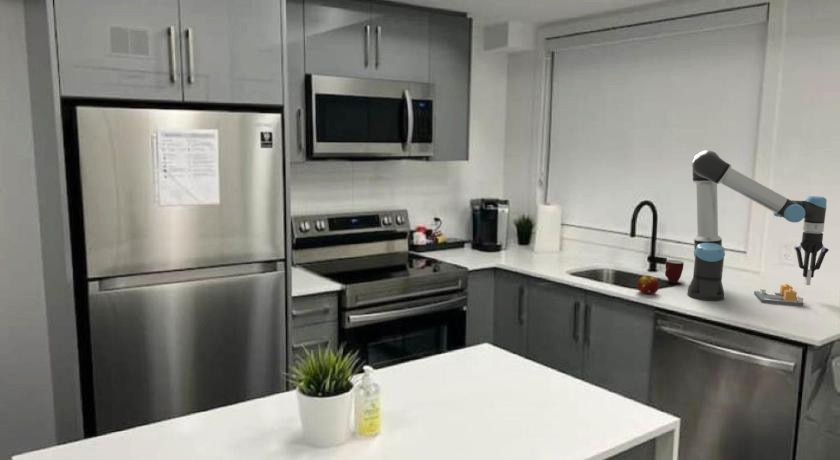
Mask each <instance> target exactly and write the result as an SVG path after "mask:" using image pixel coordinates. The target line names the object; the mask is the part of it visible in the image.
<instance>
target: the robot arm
mask: <svg viewBox="0 0 840 460" xmlns="http://www.w3.org/2000/svg"><path fill="white" fill-rule="evenodd" d="M691 167H692V182H693V183H694V184H695V185H696V215H697V216H696V217H697V218H696V223H697V225H696V226H697V228H696V229H697V236H695V237H694V241H693V244H694V245H693V248H694V250H693V255H694V264H693V265H694V266H693V277H692V279H691V281H690V284H689V285H688V288H687V293H686V294H687V295H688V296H689V297H691V298H694V299H696V300H697V299H698V300H703V301H715V302H716V301H723V300H724V299H725V295H726V294H725V291H724V290H725V289H724V286H723V282H722V280H723V270H724V261H725V255H726V252H725V247H724V246H723V239H722V237H721V236H720V235H719V222H718V221H719V219H718V218H719V215H718V206H719V205H718V184H719V185H720V184H722V185H723V186H725V187H727V188H729V189H730V190H733V191H735V192H737V193H738V194H740V195H741V196H743V197H746V198H747V199H749V200H751V201H752V202H754V203H756V204H759V205H760V206H761V207H764V208H765V209H767V210H769V211H771V212H773V216H775V217H778V218H783V219H785V220H786V221H788V222H790V223H799V222H801V221H803V227H802V228H803V229H802V231H803V232H802V236H801V242H800V244H799V245H796V246H795V245H794V247H793V249H794V251H795V253H796V257H797V264H798V268H800V269H802V277H803V278H804V283H803V284H804V285H806V286H811V280H812V278H814V275H815V271H817V270H820V268H821V267H822V264H823V262H824V259H825V256H826V254H827V253H828V252H829V251H830V250H829V248H827V247H825V246H824V244H823V239H824V237H823V236H824V233H823V232H825V231H824V230H825V220H826V213H827V202H828V201H827V198H826V197H824V196H817V195H816V196H814V195H813V196H812V195H811V196H810V195H809V196H807V197H806V199H805V200H792V199H789V198H787V197H786V196H783V194H780V193H778V192H776V191H775V190H773V189H771V188H769V187H767V186H766V185H763V184H761V183H759V182H758V181H756V180H755V179H752V178H751V177H749V176H747V175H744V174H743V173H741V172H739V171H737V170H736V169H734V168H732V164H730V163H728V162H727V161H724V159H722V158H721V157H720V156H719V155H718V154H717V153H716V152H715V151H712V150H707V149H706V150H702V151H699V152H698V153H696V154H695V155H694V157H693V158H692V161H691ZM802 250H803V251H804V259H803V256H802V255H803V254H802ZM819 251H820V253H819V255H818V252H819ZM817 255H818V257H817ZM809 262H810V263H809ZM809 264H810V265H809Z"/></svg>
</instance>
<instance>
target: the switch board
mask: <svg viewBox="0 0 840 460" xmlns="http://www.w3.org/2000/svg"><path fill="white" fill-rule="evenodd" d="M753 295H754V296H755V297H756V299H757V300H759V302H760V303H761V304H770V305H782V306H795V307H804V305H805V304H804V303H805V302H804V297H803V296H802V295H796V301H785V300H784V299H783V297H784V295H781V294H780V292H768V291H766V289H765V287H760V288H759V291H758V290H755V291H754V293H753Z"/></svg>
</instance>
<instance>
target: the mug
mask: <svg viewBox="0 0 840 460" xmlns="http://www.w3.org/2000/svg"><path fill="white" fill-rule="evenodd" d="M684 264H685V263H684V261H682V260H677V259H665V271H664V272H665V273H664V275H665V277H666V278H667V280H668V282H670V283H677V282H679V280H680V279H681V277H682V274H683V270H684Z"/></svg>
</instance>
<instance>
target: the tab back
mask: <svg viewBox="0 0 840 460" xmlns="http://www.w3.org/2000/svg"><path fill="white" fill-rule="evenodd" d="M789 289H792V290H793V289H794V287H793V286H792V285H790V284H788V283H784V284H780V288H779V293H780V294H781V295H784V290H789Z"/></svg>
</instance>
